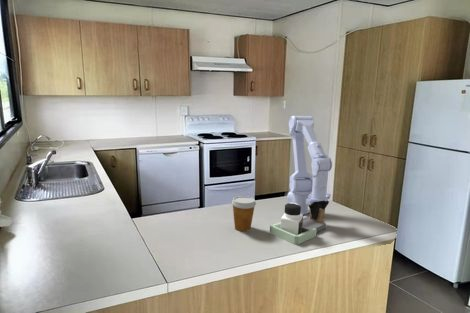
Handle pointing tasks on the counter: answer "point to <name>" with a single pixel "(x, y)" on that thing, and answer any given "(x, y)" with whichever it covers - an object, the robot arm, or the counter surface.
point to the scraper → (314, 222)
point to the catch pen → (291, 237)
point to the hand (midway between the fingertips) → (316, 217)
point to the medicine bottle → (292, 219)
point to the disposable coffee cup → (243, 212)
